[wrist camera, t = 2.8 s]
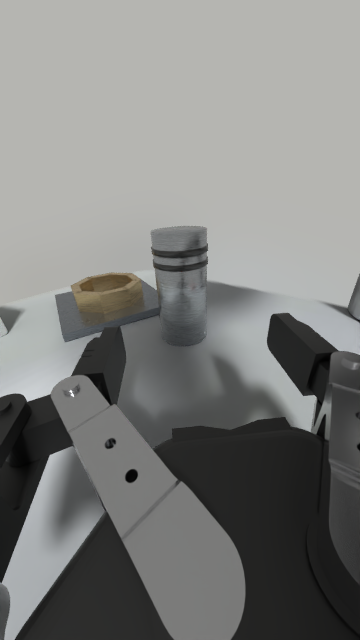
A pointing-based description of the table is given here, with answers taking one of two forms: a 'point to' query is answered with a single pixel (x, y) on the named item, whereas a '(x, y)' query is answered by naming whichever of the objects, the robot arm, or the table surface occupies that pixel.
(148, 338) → the table surface
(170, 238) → the piston
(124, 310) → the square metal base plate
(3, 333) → the skincare box
